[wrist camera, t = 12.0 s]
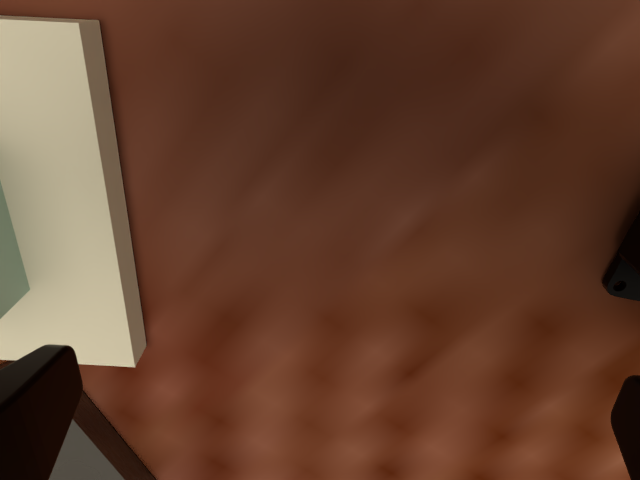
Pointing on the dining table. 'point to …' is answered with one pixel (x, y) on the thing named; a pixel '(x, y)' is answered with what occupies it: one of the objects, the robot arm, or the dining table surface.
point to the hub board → (65, 195)
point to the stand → (95, 449)
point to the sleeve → (10, 262)
